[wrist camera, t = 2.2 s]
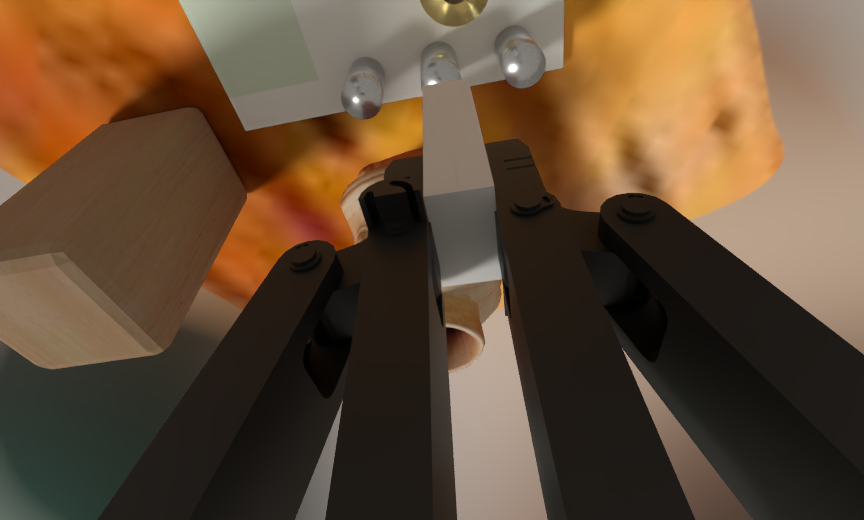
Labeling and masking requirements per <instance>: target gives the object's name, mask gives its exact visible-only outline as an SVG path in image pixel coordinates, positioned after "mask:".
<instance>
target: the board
mask: <svg viewBox="0 0 864 520" xmlns="http://www.w3.org/2000/svg"><path fill="white" fill-rule="evenodd" d="M179 2H180V4H181V6H182V8H183V10H184V11H185V13H186V15H187V17H188V19H189V21H190V23H191V25H192V27H193V29H194V31H195V33H196V35H197V37H198V39H199V41H200V43H201V45H202V47H203V49H204V51H205V52H206V54H207V56H208V58H209V60H210V62H211V64H212V66H213V68H214V70H215V72H216V74H217V76H218V78H219V80H220V82H221V84H222V86H223V88H224V90H225V92H226V93H227V95H228V97H229V99H230V101H231V103H232V105H233V107H234V109H235V111H236V113H237V115H238V117H239V119H240V121H241V123H242V125H243V127H244V129H245V131H249V130H254V129H259V128H264V127H269V126H274V125H279V124H284V123H289V122H294V121H299V120H304V119H309V118H314V117H320V116H325V115H330V114H335V113H340V112H345V111H346V110H345V109H344V107H343V105H342V102H341V93H342V90H343V87H344V84H345V81H346V78H347V75H348V72H349V69H350V67H351V65H352V63H353V62H354V61H355V60H357V59H358V58H361V57H370V58H373V59H375V60H377V61H378V62H379V63H380V64H381V65H382V67H383V69H384V71H385V76H386V78H385V86H384V92H383V99H382V104H385V103H390V102H395V101H400V100H405V99H410V98H415V97H420V96H423V92H422V89H421V73H420V58H421V54H422V52H423V50H424V49H425V48H426V46H428V45H429V44H431V43H433V42H437V41H441V42H445V43H448V44H449V45H450V46H452V48H453V49H454V50H455V52H456V55H457V60H458V64H459V69H460V74H461V78H462V79H466V78H468V79H469V83H470V86H475V85H480V84H485V83H490V82H495V81H500V80H505V77H504V74H503V72H502V70H501V67H500V65H499V63H498V60H497V58H496V56H495V53H494V43H495V40H496V38H497V36H498V34H499V33H500V32H501V31H502V30H503V29H505V28H506V27H509V26H512V25H519V26H522V27H524V28H525V29H526V30H527V31H528V32H529V33H530V35H531V36H532V38H533V39H534V40H535V42H536V43H537V45H538V46H539V48H540V49H541V50H542V52H543V54H544V56H545V59H546V67H545V71H550V70H556V69H561V68H563V48H564V0H488V2H487V4H486V6H485V8H484V9H483V11H482V12H481V13H480V14H479V16H478V17H476V18H475V19H474V20H473V21H471V22H469V23H467V24H465V25H462V26H457V27H450V26H445V25H442V24H439V23H437V22H436V21H434V20H433V19H432V18H431V17H430V16H429V15H428V14H427V13H426V12H425V10H424V9H423V7H422V5H421V2H420V0H179ZM545 71H544V72H545Z"/></svg>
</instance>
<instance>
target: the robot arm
mask: <svg viewBox="0 0 864 520" xmlns="http://www.w3.org/2000/svg"><path fill="white" fill-rule="evenodd" d="M358 201H359V204H360V207H361V210H362V213H363V216H364V219H365V222H366V225H367V228H368V235H367V238H366V239H364V240H363V241H361V242H359V243H357V244H355V245H353V246H350V247H347V248H345V249H342V250H339V251H337V252H336V251H335V248H334V246H333V245H331V244H330V243H328V242H326V241H320V240H315V241H307V242H304V243H301V244H298V245H296V246H294V247H292V248H291V249H289V250H288V251H286V252H285V253H284V254H283V255H282V256H281V257H280V258H279V259H278V261H277V262H276V264H275V265H274V266H273V268H272V269H271V271H270V272H269V274H268V275H267V277H266V278H265V279H264V281H263V282H262V284H261V285H260V287H259V288H258V289H257V291H256V292H255V294H254V295H253V297H252V298H251V300H250V301H249V302H248V304H247V305H246V307H245V308H244V310H243V311H242V313H241V314H240V315H239V317H238V318H237V320H236V321H235V323H234V324H233V326H232V327H231V328H230V330H229V331H228V333H227V334H226V336H225V337H224V338H223V340H222V341H221V343H220V344H219V346H218V347H217V348H216V350H215V351H214V353H213V354H212V356H211V357H210V359H209V360H208V361H207V363H206V364H205V366H204V367H203V369H202V370H201V371H200V373H199V374H198V376H197V377H196V379H195V380H194V382H193V383H192V384H191V386H190V387H189V389H188V390H187V392H186V393H185V395H184V396H183V397H182V399H181V400H180V402H179V403H178V405H177V406H176V407H175V409H174V410H173V412H172V413H171V415H170V416H169V418H168V419H167V420H166V422H165V423H164V425H163V426H162V428H161V429H160V430H159V432H158V434H157V435H156V437H155V438H154V439H153V441H152V442H151V443H150V445H149V446H148V448H147V449H146V451H145V452H144V454H143V455H142V456H141V458H140V459H139V461H138V462H137V464H136V465H135V466H134V468H133V469H132V471H131V472H130V474H129V475H128V477H127V478H126V479H125V481H124V482H123V484H122V485H121V487H120V488H119V490H118V491H117V492H116V494H115V495H114V497H113V498H112V500H111V501H110V502H109V504H108V505H107V507H106V508H105V510H104V511H103V513H102V514H101V515H100V517H99V518H98V520H295V518H296V515H297V513H298V510H299V508H300V505H301V502H302V500H303V497H304V495H305V493H306V490H307V488H308V485H309V483H310V480H311V477H312V475H313V473H314V470H315V468H316V465H317V462H318V460H319V458H320V455H321V453H322V450H323V447H324V445H325V442H326V440H327V437H328V435H329V432H330V430H331V427H332V425H333V422H334V420H335V417H336V415H337V412H338V410H339V407H340V405H341V402H342V400H343V404H342V410H341V418H340V424H339V431H338V438H337V444H336V452H335V458H334V465H333V471H332V478H331V484H330V491H329V498H328V505H327V511H326V518H325V520H457V511H456V510H457V509H456V493H455V476H454V458H453V442H452V424H451V407H450V391H449V376H448V375H449V373H448V356H447V339H446V322H445V305H444V299H443V294H442V289H441V283H442V287H447V286H454V285H462V284H470V283H477V282H485V281H493V280H500V279H502V280H503V293H504V305H505V315H506V316H508V319H509V324H510V329H511V335H512V339H513V344H514V350H515V355H516V360H517V365H518V370H519V375H520V380H521V385H522V391H523V396H524V401H525V406H526V410H527V416H528V421H529V426H530V431H531V436H532V442H533V447H534V451H535V457H536V461H537V467H538V472H539V477H540V482H541V487H542V493H543V498H544V503H545V508H546V513H547V518H548V520H695V518H694V516H693V513H692V511H691V509H690V506H689V504H688V502H687V499H686V497H685V494H684V492H683V490H682V487H681V485H680V483H679V481H678V478H677V476H676V474H675V471H674V469H673V466H672V464H671V462H670V459H669V457H668V455H667V453H666V450H665V448H664V446H663V443H662V441H661V438H660V436H659V434H658V431H657V429H656V427H655V424H654V422H653V420H652V417H651V415H650V413H649V410H648V408H647V406H646V404H645V401H644V399H643V396H642V394H641V392H640V389H639V387H638V385H637V382H636V380H635V378H634V375H633V373H632V371H631V369H630V366H629V364H628V361H627V359H626V357H625V354H624V352H623V350H624V351H625V352H626V354H627V355H628V356H629V358H630V359H631V360H632V362H633V363H634V364H635V365H636V367H637V368H638V369H639V371H640V372H641V373H642V375H643V376H644V377H645V379H646V380H647V381H648V382H649V384H650V385H651V386H652V388H653V389H654V390H655V392H656V393H657V394H658V396H659V397H660V398H661V400H662V401H663V402H664V403H665V405H666V406H667V407H668V409H669V410H670V411H671V413H672V414H673V415H674V417H675V418H676V419H677V420H678V422H679V423H680V424H681V426H682V427H683V428H684V430H685V431H686V432H687V433H688V435H689V436H690V437H691V439H692V440H693V441H694V443H695V444H696V445H697V447H698V448H699V449H700V451H701V452H702V453H703V455H704V456H705V457H706V458H707V460H708V461H709V462H710V464H711V465H712V466H713V467H714V469H715V470H716V471H717V473H718V474H719V475H720V477H721V478H722V479H723V481H724V482H725V483H726V485H727V486H728V487H729V489H730V490H731V491H732V492H733V494H734V495H735V496H736V498H737V499H738V500H739V502H740V503H741V504H742V505H743V507H744V508H745V509H746V511H747V512H748V513H749V515H750V516H751V517H752V519H753V520H864V355H863V354H862V353H861V352H859V351H858V350H857V349H856V348H854V347H853V346H852V345H850V344H849V343H848V342H847V341H845V340H844V339H843V338H841V337H840V336H839V335H837V334H836V333H835V332H834V331H832V330H831V329H830V328H828V327H827V326H826V325H824V324H823V323H822V322H821V321H819V320H818V319H817V318H815V317H814V316H813V315H811V314H810V313H809V312H808V311H806V310H805V309H804V308H802V307H801V306H800V305H799V304H797V303H796V302H794V301H793V300H792V299H791V298H789V297H788V296H787V295H785V294H784V293H783V292H781V291H780V290H779V289H778V288H776V287H775V286H774V285H773V284H771V283H770V282H769V281H767V280H766V279H765V278H763V277H762V276H761V275H759V274H758V273H757V272H756V271H754V270H753V269H752V268H750V267H749V266H748V265H747V264H745V263H744V262H743V261H741V260H740V259H739V258H737V257H736V256H735V255H734V254H732V253H731V252H730V251H728V250H727V249H726V248H725V247H723V246H722V245H721V244H719V243H718V242H717V241H715V240H714V239H713V238H712V237H710V236H709V235H708V234H706V233H705V232H704V231H702V230H701V229H700V228H699V227H697V226H696V225H694V224H693V223H692V222H691V221H689V220H688V219H687V218H686V217H684V216H683V215H682V214H680V213H679V212H678V211H676V210H675V209H674V208H673V207H671V206H670V205H669V204H667V203H666V202H664V201H662V200H661V199H659V198H657V197H654V196H650V195H646V194H642V193H626V194H620V195H615V196H613V197H611V198H609V199H607V200H606V201H605V202H604V203H603V204H602V205H601V209H600V213H599V212H582V211H574V210H569V209H566V208H563V207H561V205H560V202H559V201H558V200H557V199H556V197H555V196H554V195H552V194H550V193H548V192H546V190H545V187H544V185H543V182H542V180H541V178H540V175H539V173H538V170H537V168H536V166H535V163H534V160H533V158H532V155H531V153H530V150H529V148H528V146H527V145H525V144H524V143H522V142H521V141H519V140H518V139H512V140H506V141H499V142H493V143H487V144H484V141H483V137H482V133H481V129H480V125H479V120H478V116H477V112H476V108H475V104H474V100H473V96H472V91H471V87H470V83H469V79H468V78H466V79H460V80H454V81H449V82H443V83H437V84H432V85H426V86H423V155H421V156H415V157H408V158H402V159H396V160H393V161H392V162H391V163H390V164H389V166H388V167H387V168H386V169H385V173H384V180H381V181H378V182H376V183H374V184H372V185H370V186H368V187H367V188H366V189H365V190H364V191H363V192H361V194H360V196H359V198H358ZM622 348H623V350H622Z"/></svg>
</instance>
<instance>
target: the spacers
mask: <svg viewBox="0 0 864 520" xmlns="http://www.w3.org/2000/svg"><path fill="white" fill-rule="evenodd" d="M494 53H495V56H496V58H497V60H498V63H499V65H500V67H501V70H502V72H503V74H504V77H505V79H506V81H507V82H508V83H509V84H510V85H511V86H513V87H516V88H527V87H530V86H532V85H534V84H535V83H536V82H538V81H539V79H540V78H541V77H542V75H543V73H544V71H545V67H546V59H545V56H544V54H543V52H542V50H541V49H540V48H539V46H538V45H537V43H536V42H535V40H534V39H533V38H532V36H531V35H530V33H529V32H528V31H527V30H526V29H525V28H524V27H522V26H519V25H512V26H509V27H506V28H505V29H503V30H502V31H501V32H500V33H499V34H498V36H497V38H496V40H495V43H494ZM420 73H421V89H422V92H423V86H426V85H432V84H437V83H443V82H449V81H454V80H460V79H462V78H461V74H460V69H459V64H458V60H457V55H456V52H455V50H454V49H453V48H452V46H450V45H449V44H448V43H445V42H441V41H437V42H433V43H431V44H429V45H428V46H426V48H425V49H424V50H423V52H422V54H421V58H420ZM385 78H386V76H385V71H384V69H383V67H382V65H381V64H380V63H379V62H378V61H377V60H375V59H373V58H370V57H361V58H358V59H357V60H355V61H354V62H353V63H352V65H351V67H350V69H349V72H348V75H347V78H346V81H345V84H344V87H343V90H342V93H341V102H342V105H343V107H344V109H345V110H346V111H347V113H349V114H350V115H351V116H353V117H355V118H358V119H369V118H372V117H374V116H375V115H376V114H377V113H378V112H379V110H380V108H381V105H382V99H383V92H384V86H385Z"/></svg>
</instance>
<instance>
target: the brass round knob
mask: <svg viewBox="0 0 864 520" xmlns="http://www.w3.org/2000/svg"><path fill="white" fill-rule="evenodd" d="M420 2H421V5H422V7H423V9H424V10H425V12H426V13H427V14H428V15H429V16H430V17H431V18H432V19H433V20H434V21H436V22H437V23H439V24H442V25H445V26H450V27H457V26H462V25H465V24H467V23H469V22H471V21H473V20H474V19H475V18H476V17H478V16H479V14H480V13H481V12H482V11H483V9H484V8H485V6H486V4H487V2H488V0H420Z"/></svg>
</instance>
